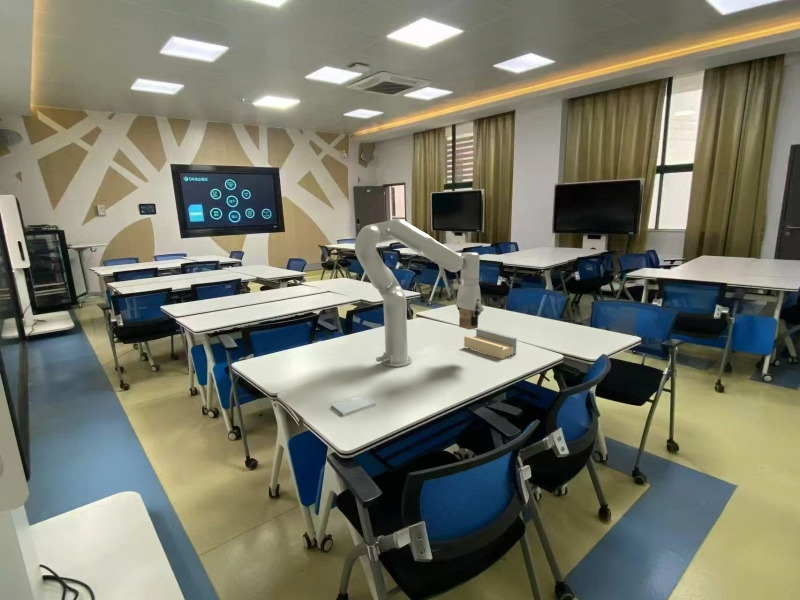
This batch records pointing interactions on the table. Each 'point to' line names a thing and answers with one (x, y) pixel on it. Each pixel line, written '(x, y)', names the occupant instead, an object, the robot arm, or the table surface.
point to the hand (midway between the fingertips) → (468, 323)
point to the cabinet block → (466, 319)
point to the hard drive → (353, 405)
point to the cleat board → (491, 343)
